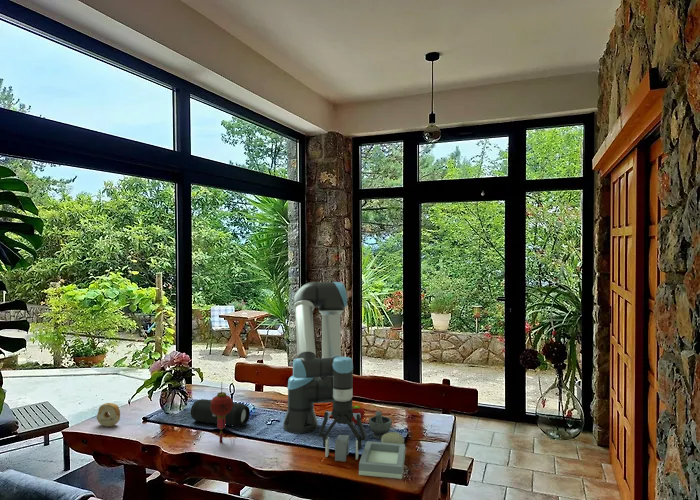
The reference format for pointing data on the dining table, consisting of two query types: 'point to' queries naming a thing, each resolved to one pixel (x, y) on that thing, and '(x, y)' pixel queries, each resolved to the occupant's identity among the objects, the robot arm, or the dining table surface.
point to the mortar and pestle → (379, 425)
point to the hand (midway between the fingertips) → (342, 456)
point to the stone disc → (104, 416)
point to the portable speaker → (203, 414)
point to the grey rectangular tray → (382, 460)
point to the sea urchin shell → (392, 438)
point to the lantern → (221, 409)
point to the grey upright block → (341, 447)
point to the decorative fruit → (357, 410)
